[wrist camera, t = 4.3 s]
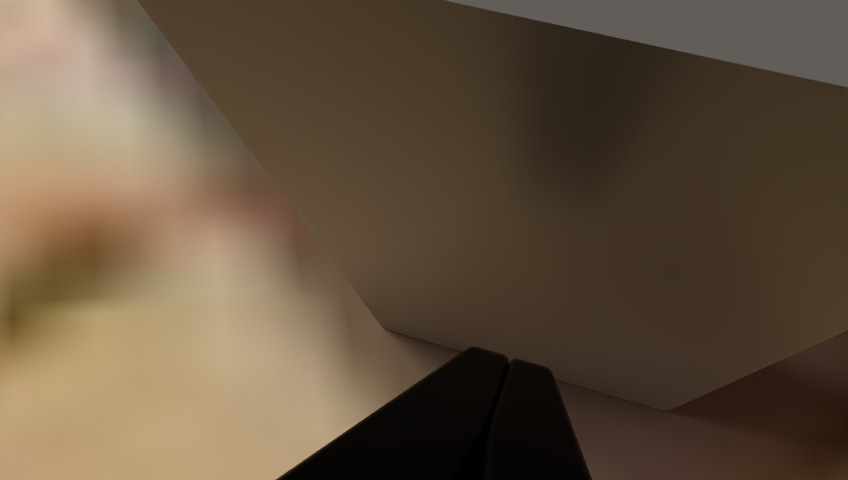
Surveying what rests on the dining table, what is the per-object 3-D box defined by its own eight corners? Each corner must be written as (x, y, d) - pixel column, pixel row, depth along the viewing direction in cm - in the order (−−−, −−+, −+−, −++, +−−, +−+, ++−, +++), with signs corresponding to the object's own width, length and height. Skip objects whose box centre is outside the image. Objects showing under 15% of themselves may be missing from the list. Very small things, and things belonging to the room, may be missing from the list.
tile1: (666, 411, 15) (1212, 165, 3) (383, 329, 16) (78, -79, 4) (686, 320, 15) (1227, -162, 4) (410, 245, 16) (198, -320, 5)
